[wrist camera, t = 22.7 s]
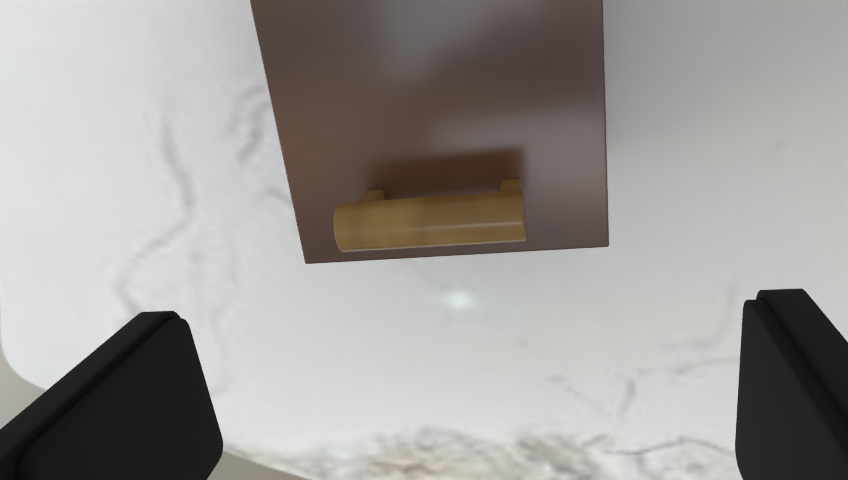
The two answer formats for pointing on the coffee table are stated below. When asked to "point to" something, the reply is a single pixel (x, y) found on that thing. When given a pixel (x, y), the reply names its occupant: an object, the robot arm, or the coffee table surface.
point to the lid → (439, 124)
